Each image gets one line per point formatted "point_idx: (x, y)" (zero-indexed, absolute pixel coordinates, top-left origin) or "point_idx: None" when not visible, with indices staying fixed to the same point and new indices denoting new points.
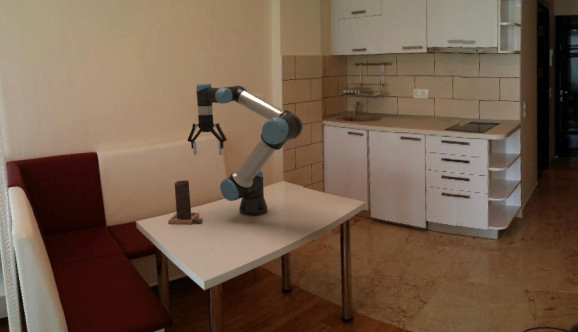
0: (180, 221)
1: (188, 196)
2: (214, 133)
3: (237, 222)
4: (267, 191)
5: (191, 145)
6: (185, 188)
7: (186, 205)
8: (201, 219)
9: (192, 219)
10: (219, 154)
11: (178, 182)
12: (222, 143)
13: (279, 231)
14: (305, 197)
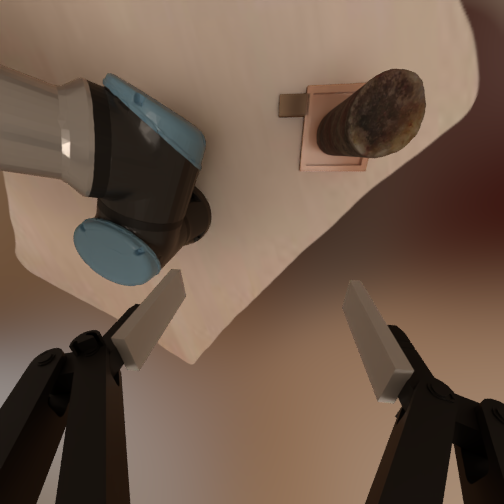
0: (343, 85)
1: (333, 117)
2: (70, 493)
3: None
4: (200, 327)
5: (415, 352)
6: (354, 93)
7: (334, 108)
8: (279, 105)
9: (306, 99)
10: (176, 272)
11: (403, 121)
12: (103, 337)
13: (54, 50)
14: (122, 295)
